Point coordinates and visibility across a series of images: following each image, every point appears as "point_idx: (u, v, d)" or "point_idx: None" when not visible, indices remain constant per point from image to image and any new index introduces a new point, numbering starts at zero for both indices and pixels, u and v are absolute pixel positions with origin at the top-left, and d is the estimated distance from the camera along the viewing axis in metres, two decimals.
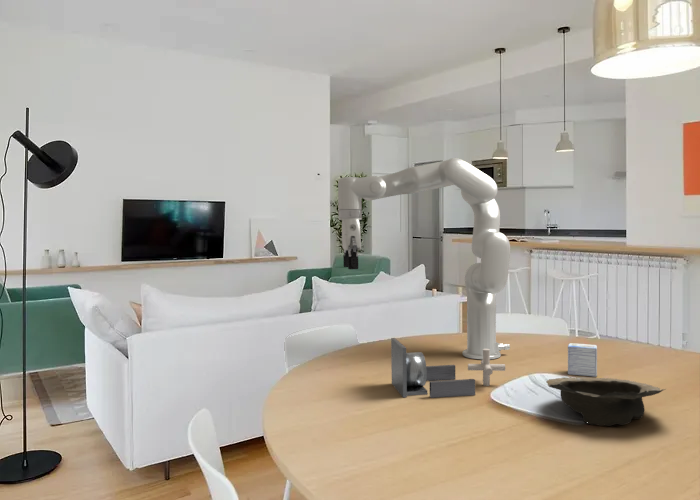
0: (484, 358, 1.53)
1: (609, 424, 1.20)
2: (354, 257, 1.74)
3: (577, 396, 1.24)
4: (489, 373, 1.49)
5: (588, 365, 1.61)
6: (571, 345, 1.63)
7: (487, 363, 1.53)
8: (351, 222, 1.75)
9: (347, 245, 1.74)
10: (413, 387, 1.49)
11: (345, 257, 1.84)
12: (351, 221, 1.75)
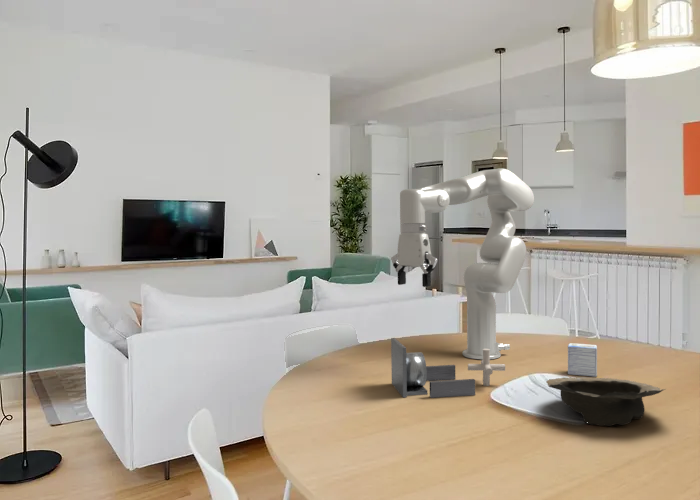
0: (484, 358, 1.53)
1: (609, 424, 1.20)
2: (429, 274, 1.65)
3: (577, 396, 1.24)
4: (489, 373, 1.49)
5: (588, 365, 1.61)
6: (571, 345, 1.63)
7: (487, 363, 1.53)
8: (424, 237, 1.65)
9: (422, 261, 1.64)
10: (413, 387, 1.49)
11: (400, 274, 1.72)
12: (424, 236, 1.65)
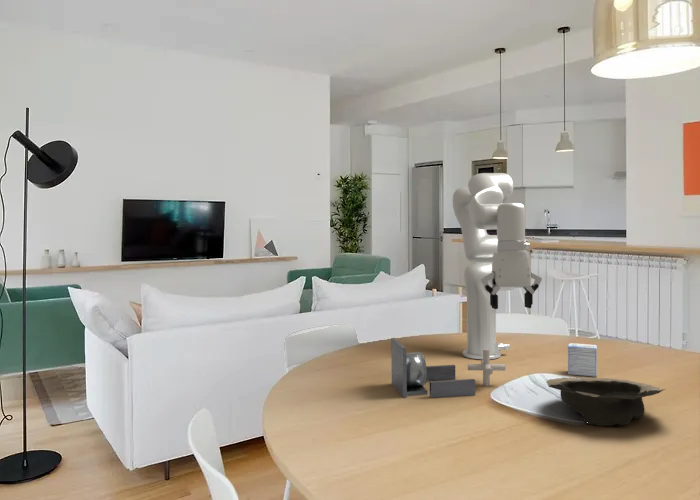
0: (484, 358, 1.53)
1: (609, 424, 1.20)
2: None
3: (577, 396, 1.24)
4: (489, 373, 1.49)
5: (588, 365, 1.61)
6: (571, 345, 1.63)
7: (487, 363, 1.53)
8: None
9: (530, 281, 1.54)
10: (413, 387, 1.49)
11: None
12: None
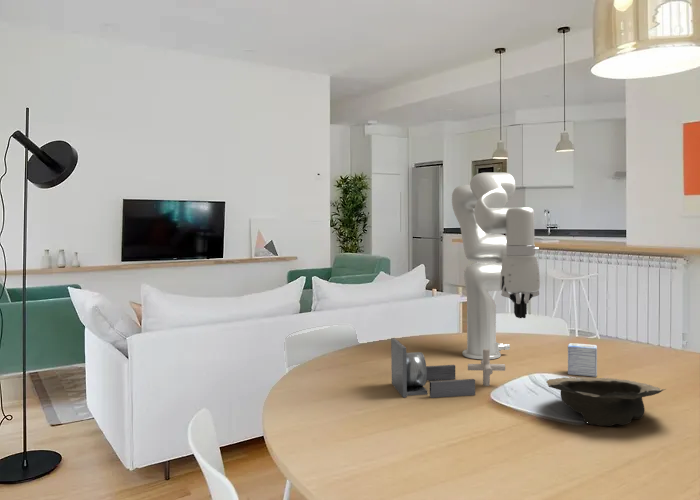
0: (484, 358, 1.53)
1: (609, 424, 1.20)
2: None
3: (577, 396, 1.24)
4: (489, 373, 1.49)
5: (588, 365, 1.61)
6: (571, 345, 1.63)
7: (487, 363, 1.53)
8: None
9: (539, 286, 1.53)
10: (413, 387, 1.49)
11: None
12: None
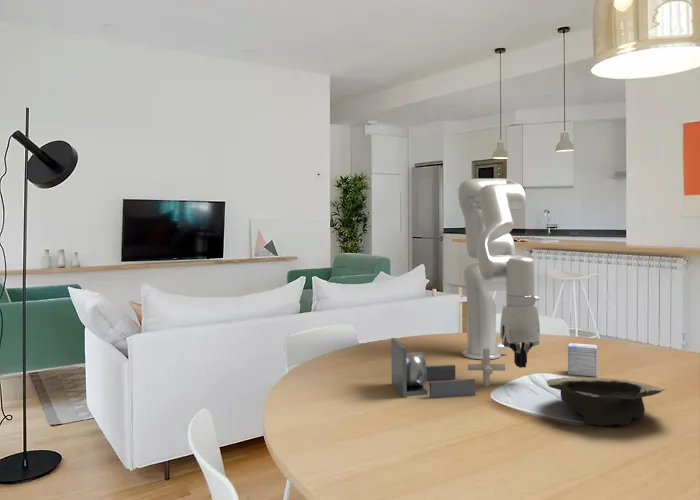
0: (484, 358, 1.53)
1: (609, 424, 1.20)
2: None
3: (577, 396, 1.24)
4: (489, 373, 1.49)
5: (588, 365, 1.61)
6: (571, 345, 1.63)
7: (487, 363, 1.53)
8: None
9: (539, 335, 1.53)
10: (413, 387, 1.49)
11: None
12: None
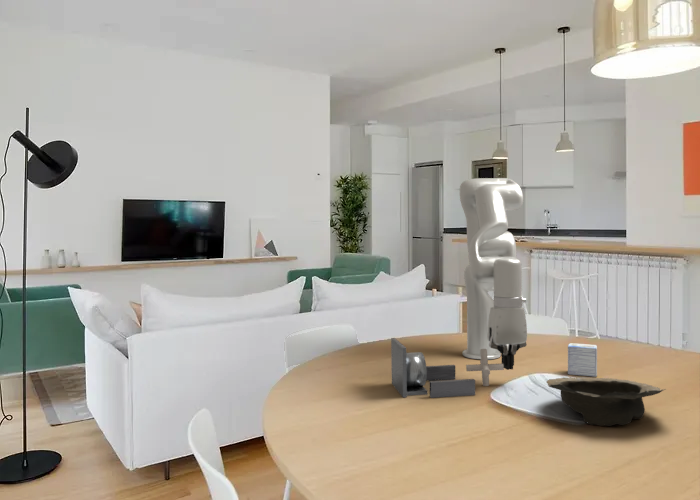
0: (482, 358, 1.53)
1: (609, 424, 1.20)
2: None
3: (577, 396, 1.24)
4: (487, 374, 1.48)
5: (588, 365, 1.61)
6: (571, 345, 1.63)
7: (485, 363, 1.52)
8: None
9: (526, 337, 1.53)
10: (413, 387, 1.49)
11: None
12: None
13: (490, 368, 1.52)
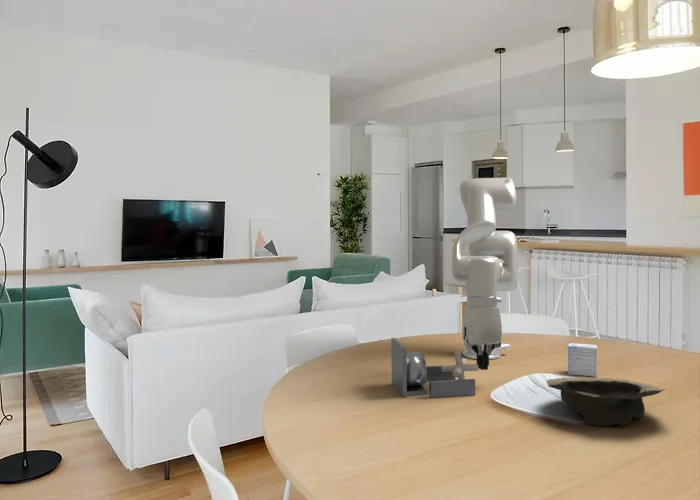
0: (455, 359, 1.52)
1: (609, 424, 1.20)
2: None
3: (577, 396, 1.24)
4: (456, 376, 1.48)
5: (588, 365, 1.61)
6: (571, 345, 1.63)
7: (459, 364, 1.52)
8: None
9: (501, 337, 1.51)
10: (413, 387, 1.49)
11: None
12: None
13: (464, 369, 1.51)
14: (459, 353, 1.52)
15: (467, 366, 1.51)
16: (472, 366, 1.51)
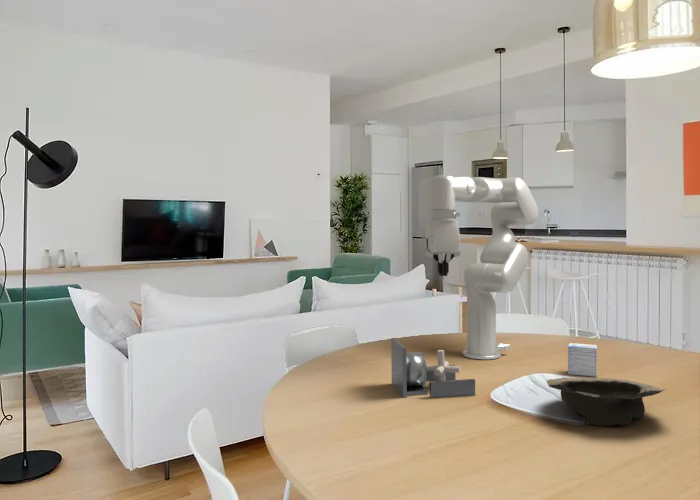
0: (438, 359, 1.52)
1: (609, 424, 1.20)
2: None
3: (577, 396, 1.24)
4: (437, 374, 1.48)
5: (588, 365, 1.61)
6: (571, 345, 1.63)
7: (441, 364, 1.52)
8: None
9: (459, 247, 1.69)
10: (413, 387, 1.49)
11: None
12: None
13: (446, 370, 1.51)
14: (442, 353, 1.52)
15: (449, 367, 1.51)
16: (454, 367, 1.50)
